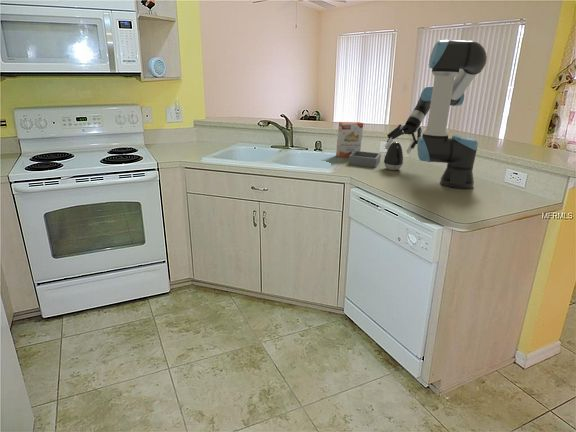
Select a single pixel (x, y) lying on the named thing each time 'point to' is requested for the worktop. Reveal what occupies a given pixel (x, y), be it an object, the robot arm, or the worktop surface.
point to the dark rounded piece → (394, 157)
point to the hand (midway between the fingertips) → (396, 150)
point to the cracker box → (349, 138)
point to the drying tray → (364, 158)
